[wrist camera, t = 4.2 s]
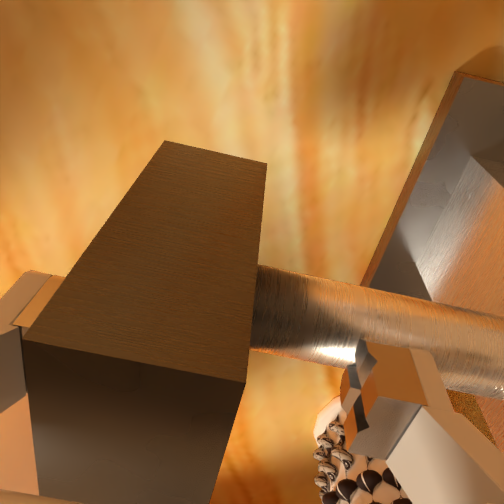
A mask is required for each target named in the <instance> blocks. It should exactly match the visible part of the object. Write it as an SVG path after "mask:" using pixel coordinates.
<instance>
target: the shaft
mask: <svg viewBox="0 0 504 504" xmlns="http://www.w3.org/2000/svg"><path fill="white" fill-rule="evenodd" d="M266 170H267V163H262V162H258V161H254V160H249V159H245V158H240V157H236V156H232V155H227V154H223V153H218V152H214V151H210V150H205V149H201V148H196V147H192V146H187V145H183V144H179V143H174V142H170V141H164V142H163V143H162V145H161V146H160V148H159V149H158V150H157V152H156V153H155V154H154V156H153V157H152V159H151V160H150V161H149V163H148V164H147V166H146V167H145V168H144V170H143V171H142V172H141V174H140V175H139V177H138V178H137V179H136V181H135V182H134V184H133V185H132V186H131V188H130V189H129V191H128V192H127V193H126V195H125V196H124V197H123V199H122V200H121V202H120V203H119V204H118V206H117V207H116V209H115V210H114V211H113V213H112V214H111V215H110V217H109V218H108V220H107V221H106V222H105V224H104V225H103V227H102V228H101V229H100V231H99V232H98V234H97V235H96V236H95V238H94V239H93V240H92V242H91V243H90V245H89V246H88V247H87V249H86V250H85V252H84V253H83V254H82V256H81V257H80V258H79V260H78V261H77V263H76V264H75V265H74V267H73V268H72V270H71V271H70V272H69V274H68V275H67V277H66V278H65V279H64V281H63V282H62V283H61V285H60V286H59V288H58V289H57V290H56V292H55V293H54V295H53V296H52V297H51V299H50V300H49V301H48V303H47V304H46V306H45V307H44V308H43V310H42V311H41V313H40V314H39V315H38V317H37V318H36V320H35V321H34V322H33V324H32V325H31V326H30V328H29V329H28V331H27V332H26V333H25V335H24V336H23V338H22V339H21V340H22V348H23V357H24V366H25V375H26V384H27V393H28V401H29V410H30V419H31V428H32V437H33V445H34V454H35V463H36V472H37V481H38V490H39V496H44V497H49V498H55V499H61V500H67V501H72V502H78V503H84V504H209V502H210V499H211V495H212V492H213V489H214V486H215V482H216V479H217V476H218V472H219V469H220V466H221V463H222V459H223V456H224V453H225V450H226V446H227V443H228V440H229V436H230V433H231V430H232V427H233V423H234V420H235V417H236V414H237V410H238V407H239V404H240V401H241V397H242V394H243V391H244V387H245V384H246V376H247V366H248V356H249V350H254V351H259V352H264V353H269V354H274V355H279V356H284V357H289V358H294V359H299V360H304V361H309V362H314V363H319V364H323V365H328V366H333V367H338V368H343V369H345V368H346V366H347V365H351V364H354V363H355V357H354V353H355V350H356V347H357V344H358V342H359V340H360V339H361V338H362V339H367V340H372V341H377V342H382V343H387V344H392V345H398V346H403V347H411V348H416V349H422V350H427V351H429V352H430V353H431V354H432V356H433V358H434V361H435V363H436V366H437V368H438V371H439V373H440V376H441V379H442V381H443V384H444V386H445V389H448V390H453V391H458V392H463V393H468V394H473V395H478V396H483V397H488V398H493V399H498V400H503V401H504V317H503V316H499V315H494V314H489V313H485V312H480V311H475V310H470V309H466V308H461V307H456V306H452V305H447V304H442V303H437V302H433V301H428V300H423V299H419V298H414V297H409V296H405V295H400V294H395V293H390V292H386V291H381V290H376V289H372V288H367V287H362V286H357V285H353V284H348V283H343V282H339V281H334V280H329V279H325V278H320V277H315V276H310V275H306V274H301V273H296V272H292V271H287V270H282V269H277V268H273V267H268V266H263V265H259V264H257V263H258V253H259V242H260V232H261V222H262V212H263V201H264V191H265V181H266Z"/></svg>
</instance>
